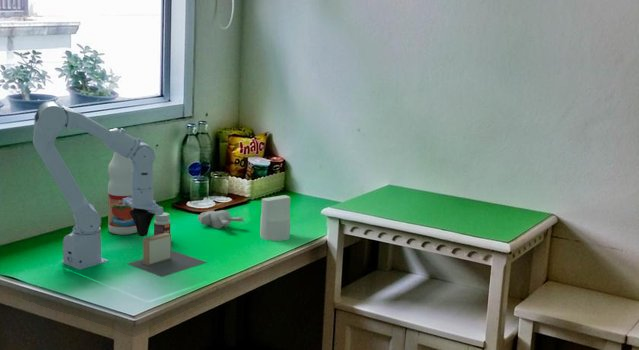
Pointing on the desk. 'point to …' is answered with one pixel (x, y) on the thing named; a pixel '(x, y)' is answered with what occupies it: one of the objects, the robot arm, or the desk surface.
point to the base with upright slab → (275, 218)
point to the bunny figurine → (217, 218)
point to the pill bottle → (162, 224)
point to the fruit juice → (120, 196)
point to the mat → (169, 264)
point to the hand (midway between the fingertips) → (142, 235)
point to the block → (156, 248)
